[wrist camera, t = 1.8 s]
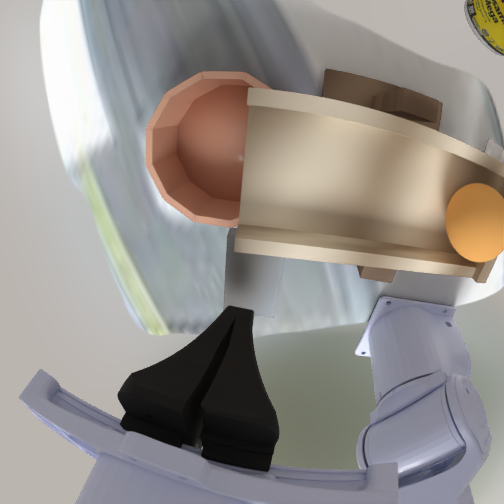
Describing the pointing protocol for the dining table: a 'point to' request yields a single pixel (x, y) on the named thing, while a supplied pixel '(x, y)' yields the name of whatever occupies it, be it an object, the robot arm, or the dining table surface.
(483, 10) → the pill bottle
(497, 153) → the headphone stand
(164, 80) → the dining table surface
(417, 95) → the lever stand
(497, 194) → the ball
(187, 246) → the dining table surface
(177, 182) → the cup
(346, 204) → the beige curved piece
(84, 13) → the dining table surface
